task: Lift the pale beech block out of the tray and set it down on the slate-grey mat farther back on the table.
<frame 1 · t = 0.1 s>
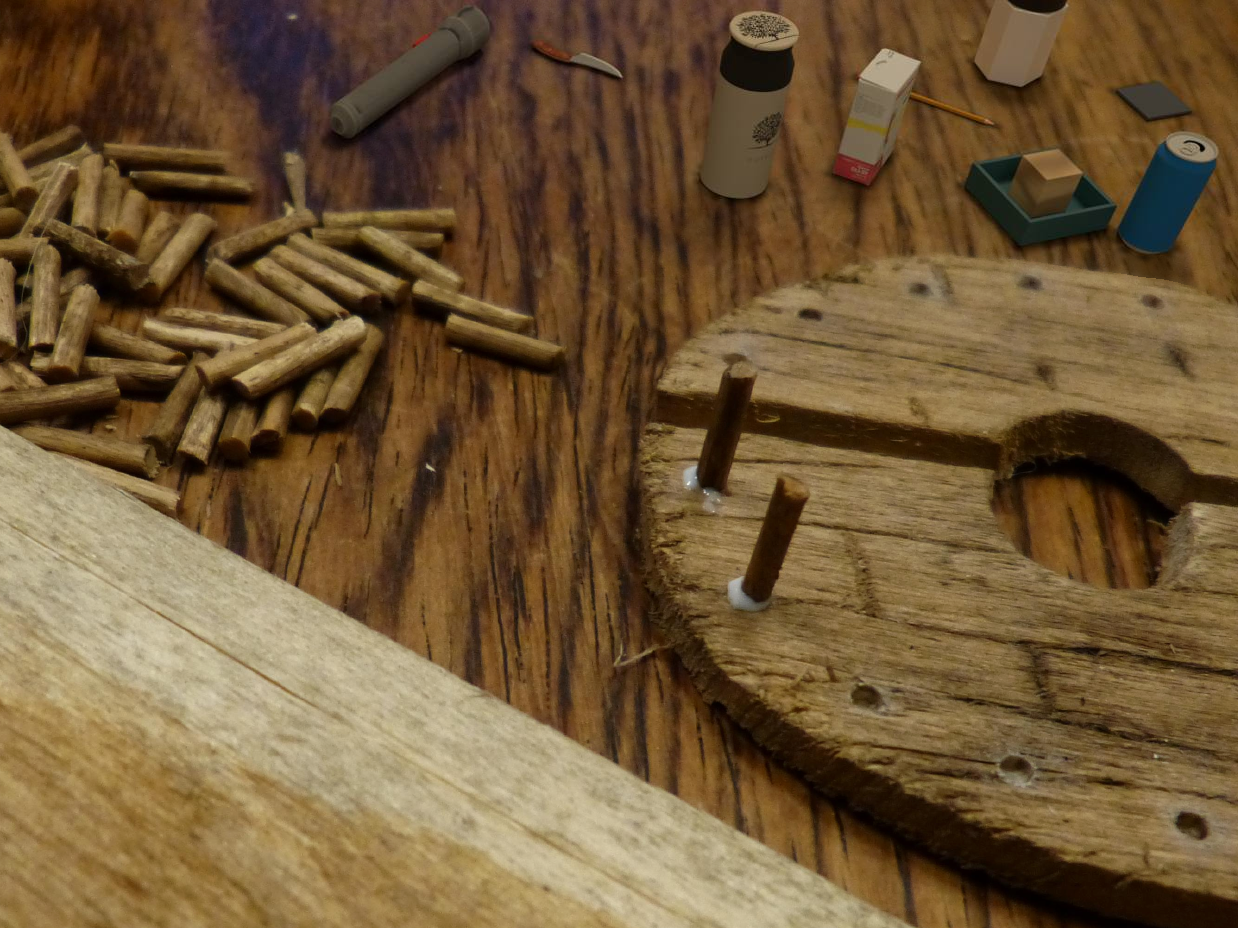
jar: (1006, 71, 168), on the table
beverage can: (1142, 242, 148), on the table
knife: (579, 62, 163), on the table
travel mug: (732, 182, 150), on the table
ink box: (861, 165, 154), on the table
pencil: (924, 104, 163), on the table
mat: (1152, 102, 166), on the table
flashlight: (409, 92, 156), on the table
tray: (1034, 207, 151), on the table
beech block: (1036, 202, 150), point 1 cm above the table, touching tray
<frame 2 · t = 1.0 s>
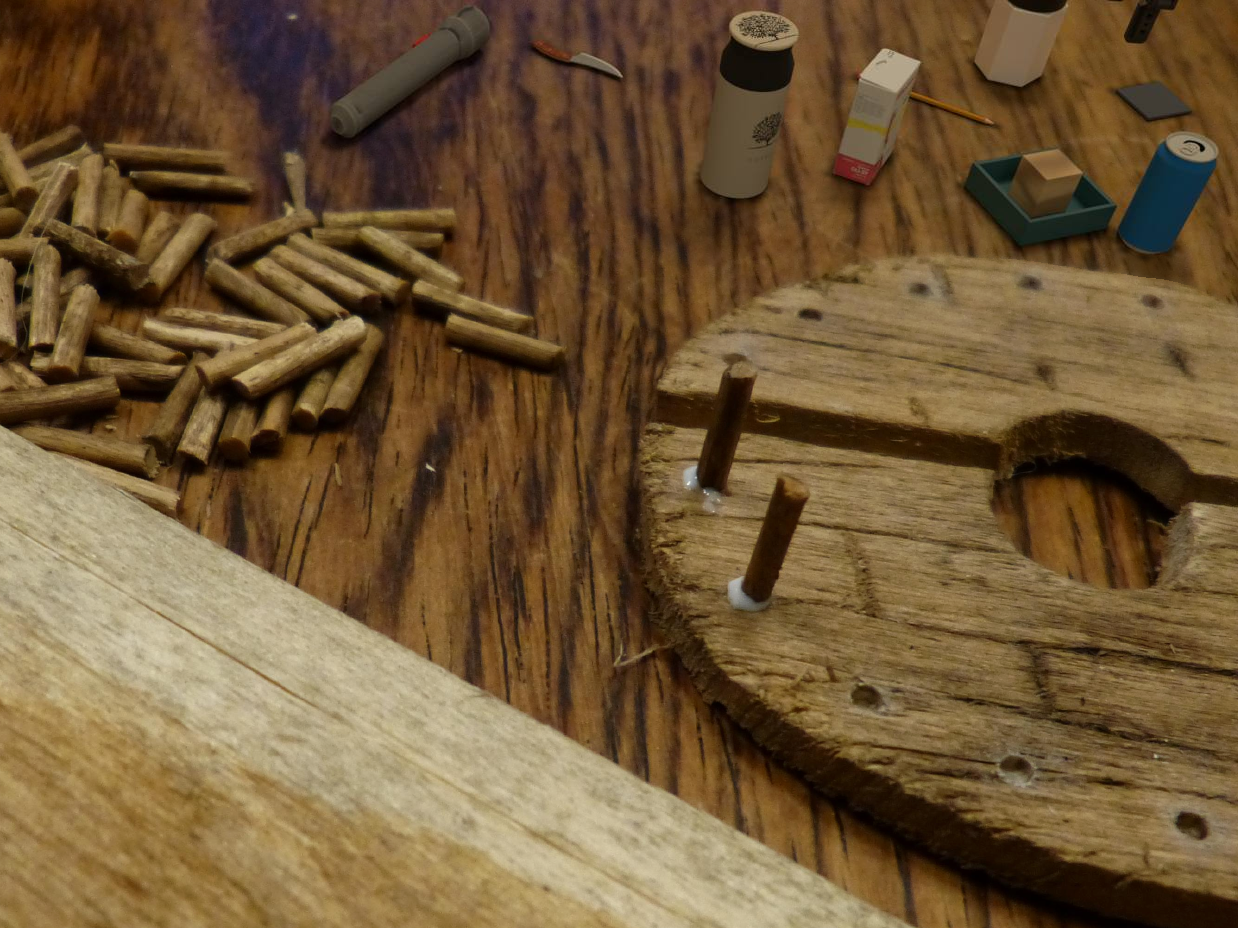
hand: (1123, 20, 132), 22 cm above the table, tool pointing down, fingers open, 8 cm apart
nothing on the table moved.
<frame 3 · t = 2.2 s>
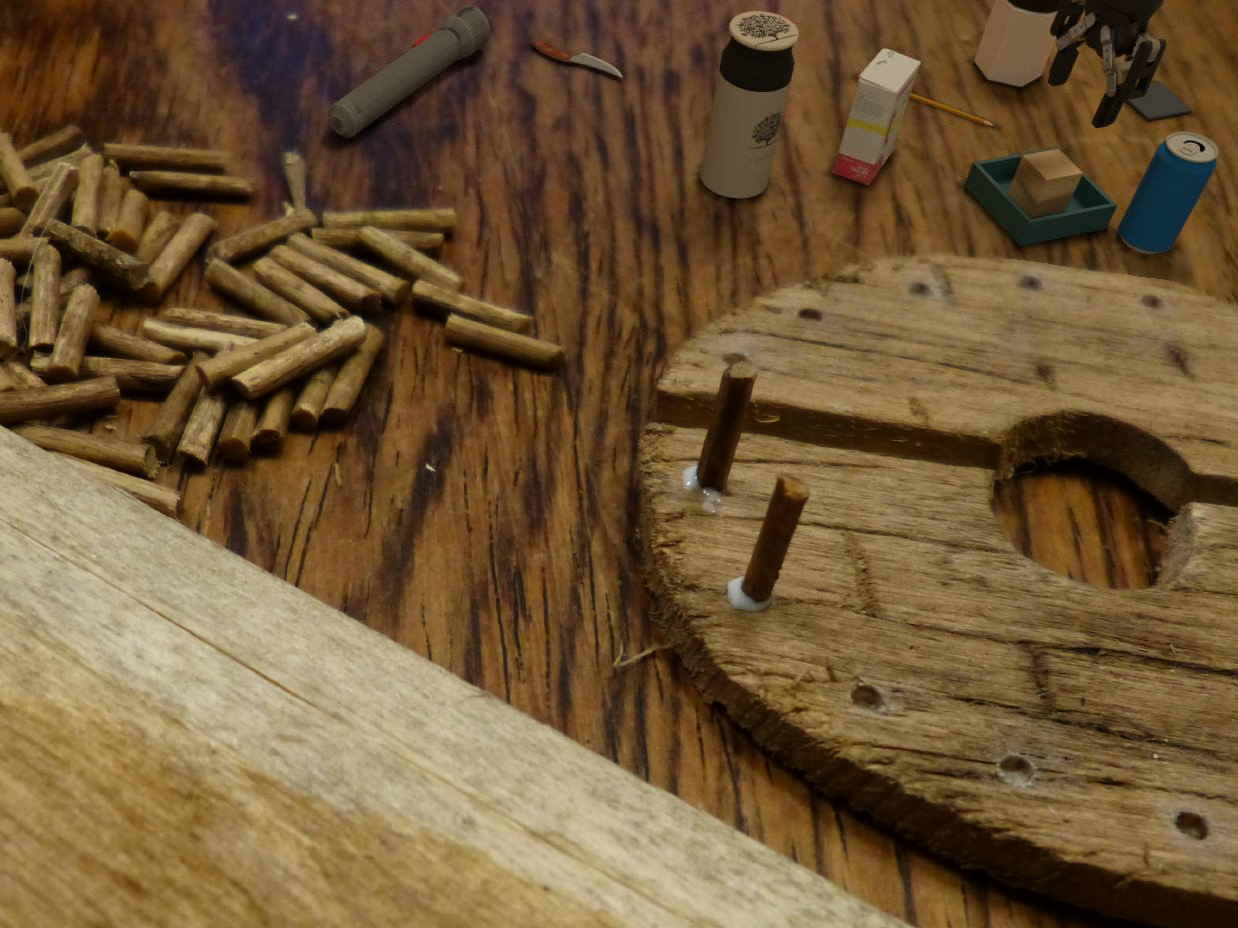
hand: (1077, 104, 140), 13 cm above the table, tool pointing down, fingers open, 8 cm apart
nothing on the table moved.
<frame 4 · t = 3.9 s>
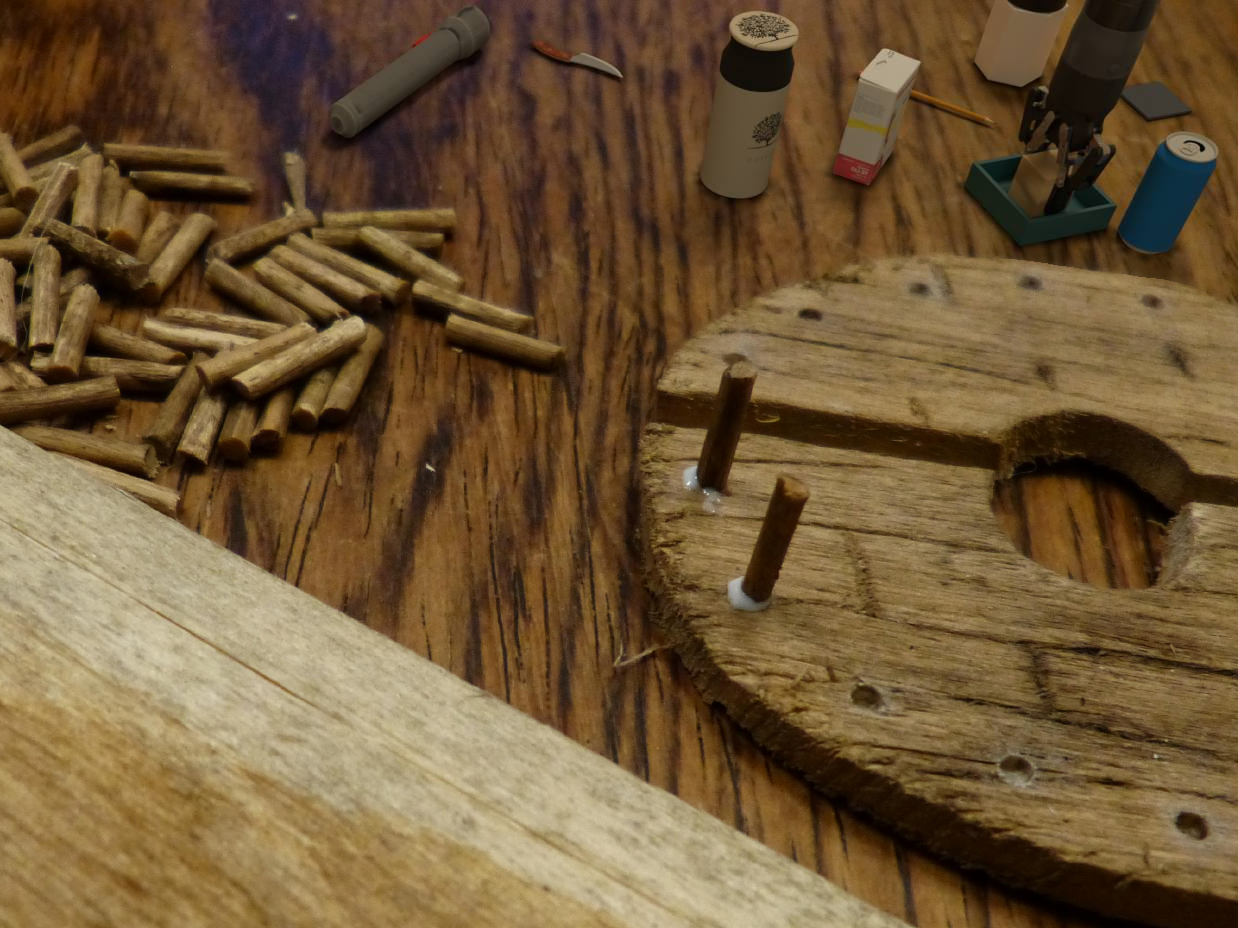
hand: (1038, 197, 150), 1 cm above the table, tool pointing down, fingers closed on beech block, 5 cm apart
beech block: (1036, 202, 150), point 1 cm above the table, touching gripper, tray
everything else where it was.
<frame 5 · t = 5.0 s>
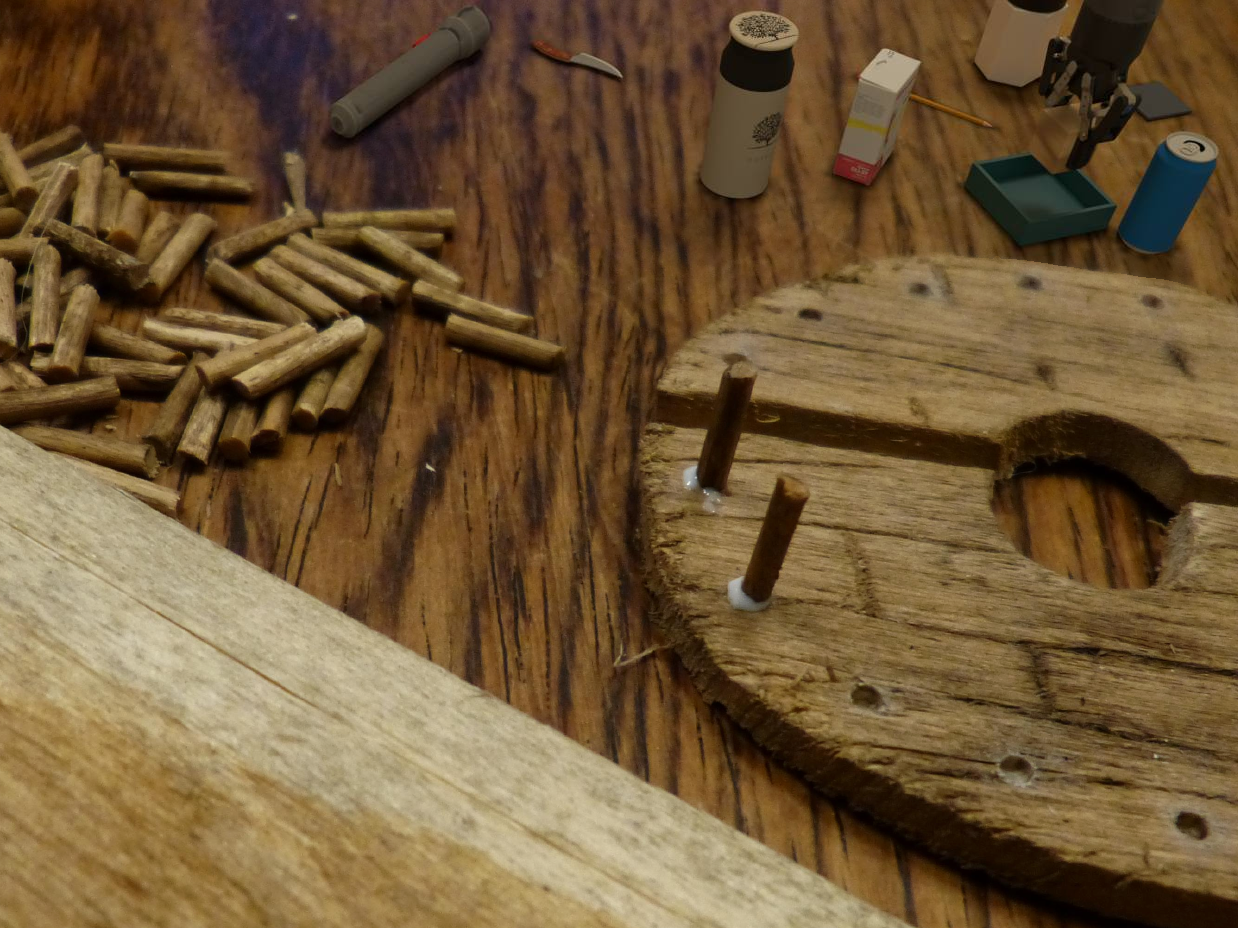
hand: (1059, 153, 145), 7 cm above the table, tool pointing down, fingers closed on beech block, 5 cm apart
beech block: (1057, 158, 145), point 6 cm above the table, touching gripper
everything else where it was.
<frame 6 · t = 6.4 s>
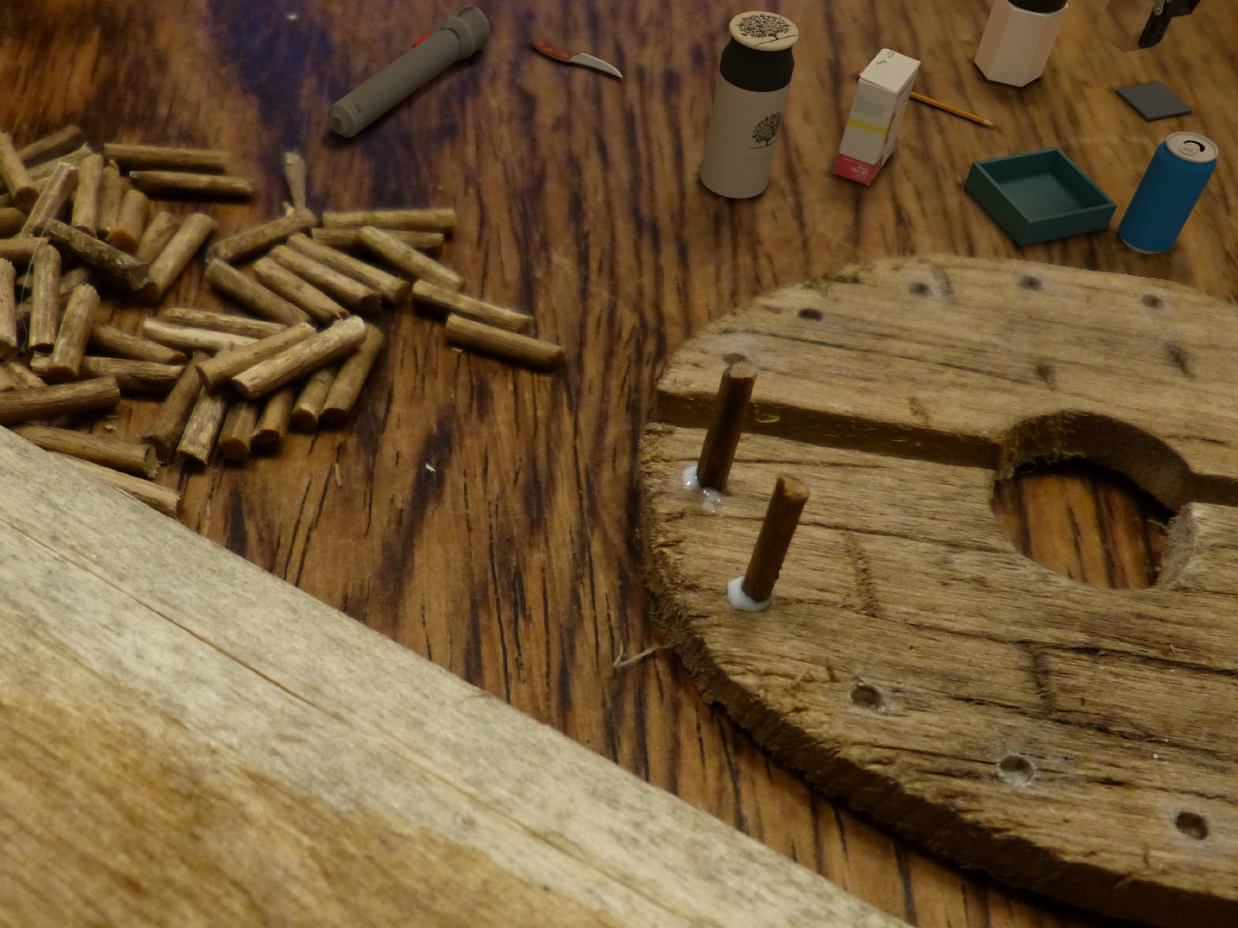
hand: (1130, 32, 140), 18 cm above the table, tool pointing down, fingers closed on beech block, 5 cm apart
beech block: (1127, 38, 141), point 17 cm above the table, touching gripper
everything else where it was.
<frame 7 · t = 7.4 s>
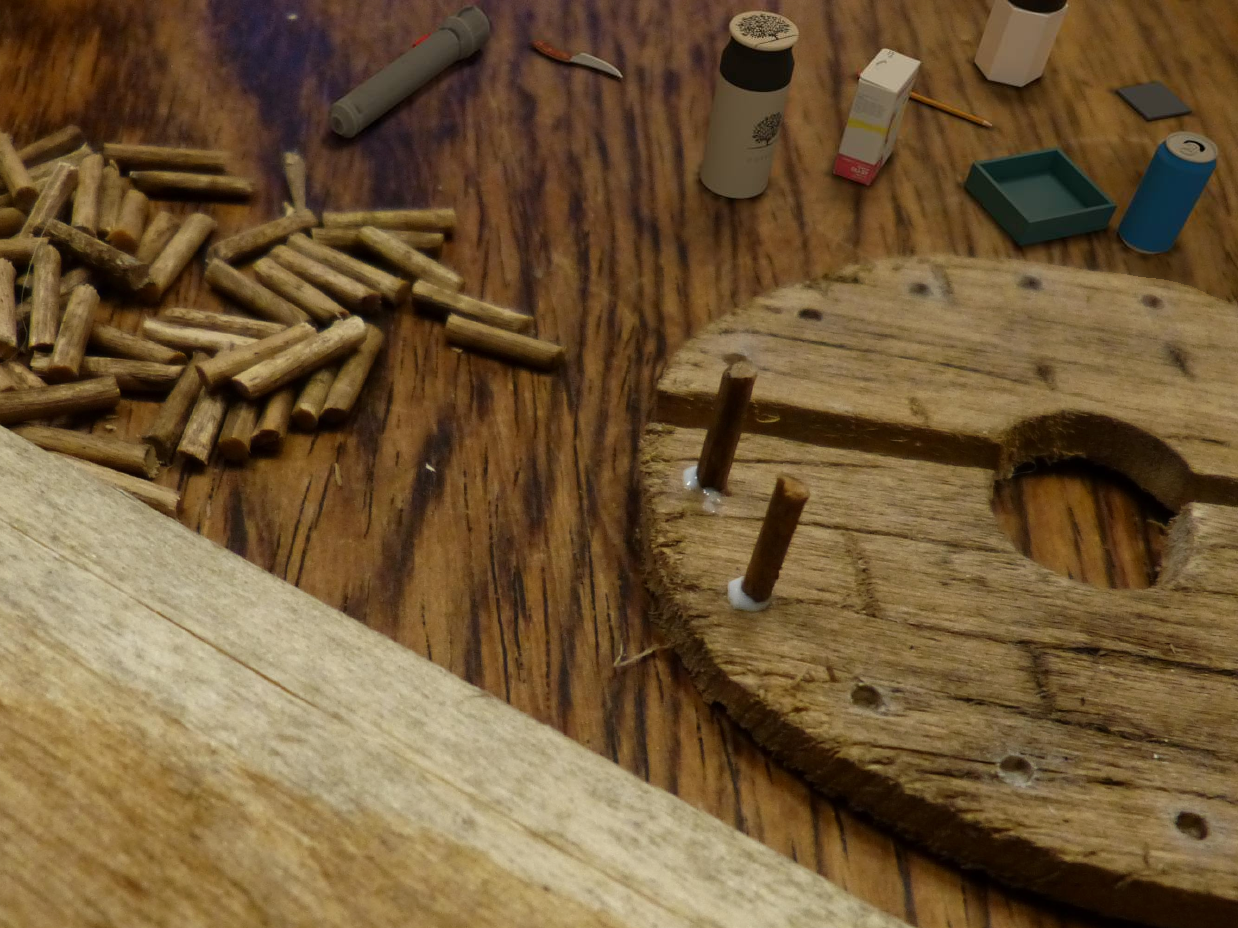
when the fingers open (1 cm above the table, at t = 12.2 s): beech block stays where it is, resting on mat.
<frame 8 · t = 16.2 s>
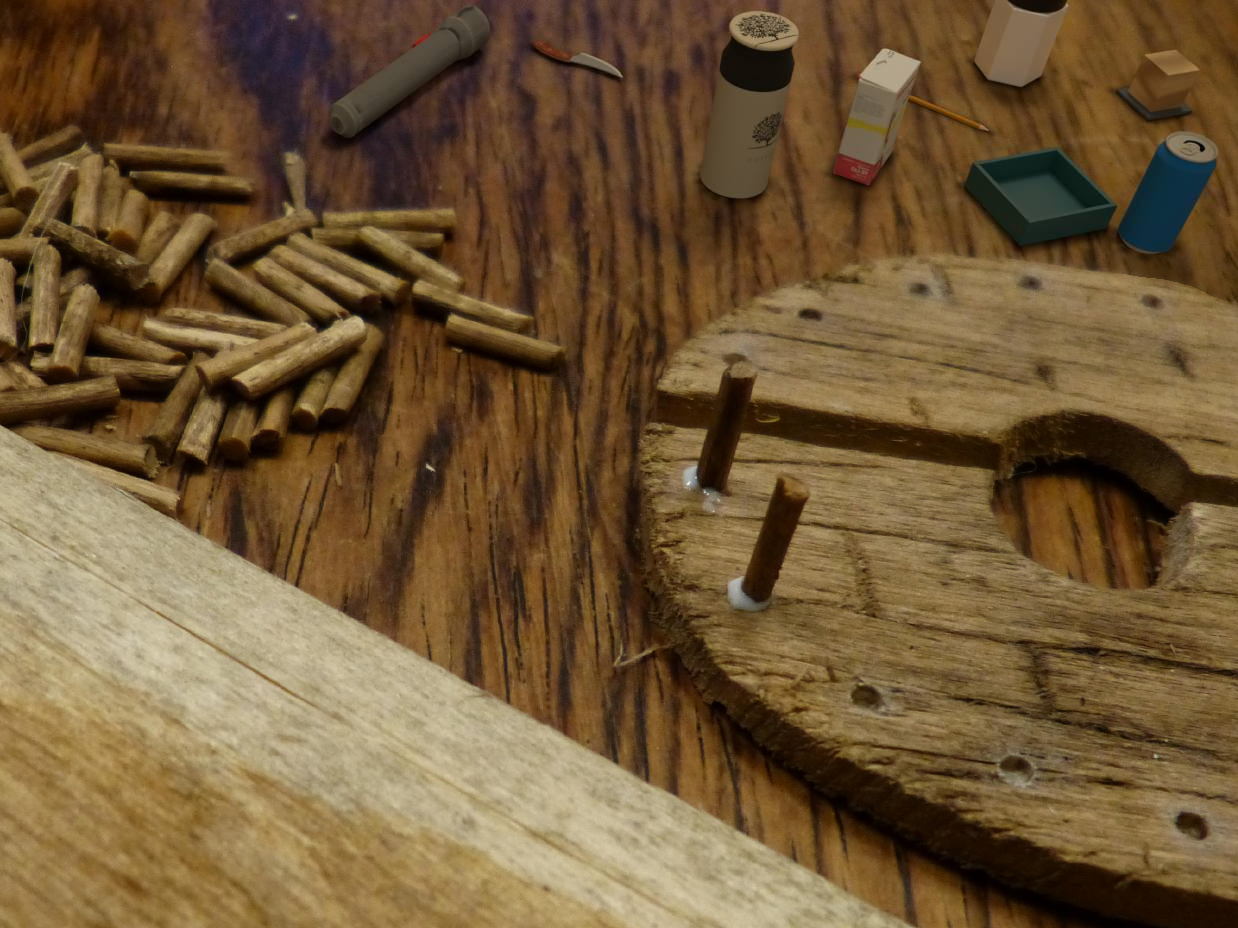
beech block: (1154, 99, 166), resting on mat
at the end: beech block 0.0 cm off-centre on the mat, point 0.4 cm above the mat's base; beech block tilted 0°; the gripper is holding nothing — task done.
